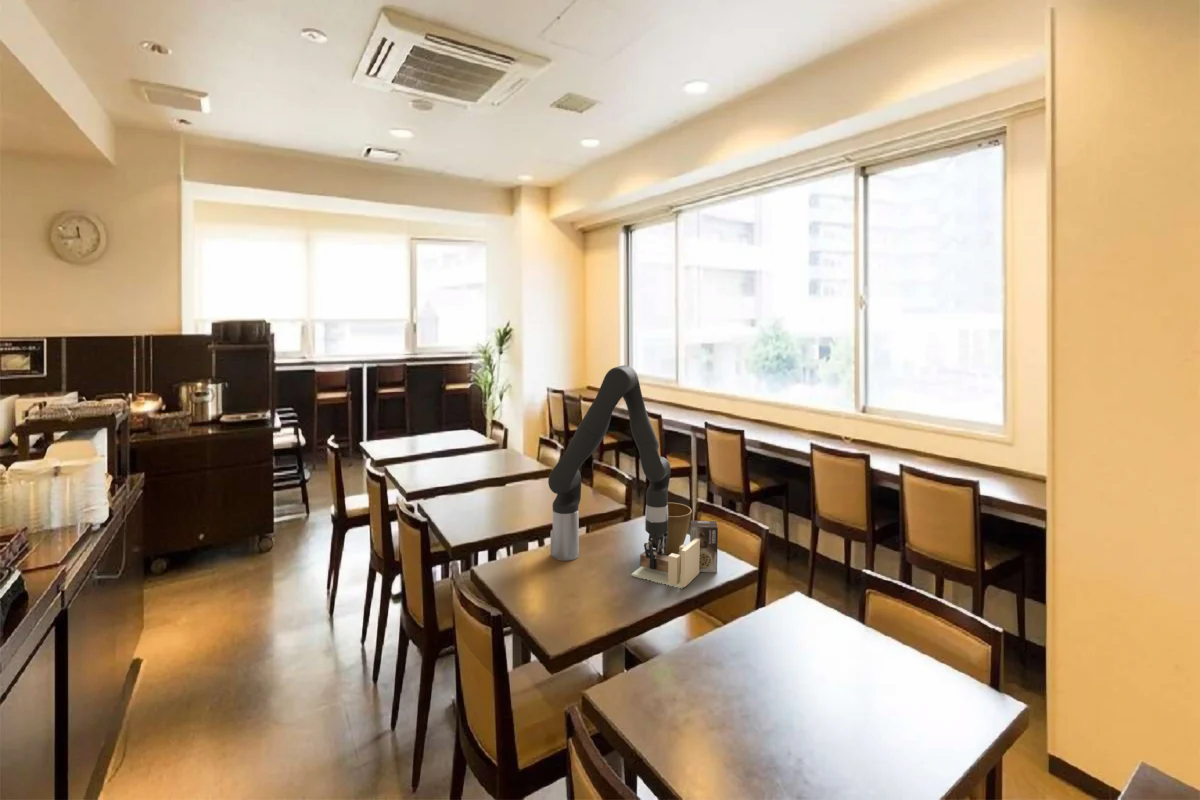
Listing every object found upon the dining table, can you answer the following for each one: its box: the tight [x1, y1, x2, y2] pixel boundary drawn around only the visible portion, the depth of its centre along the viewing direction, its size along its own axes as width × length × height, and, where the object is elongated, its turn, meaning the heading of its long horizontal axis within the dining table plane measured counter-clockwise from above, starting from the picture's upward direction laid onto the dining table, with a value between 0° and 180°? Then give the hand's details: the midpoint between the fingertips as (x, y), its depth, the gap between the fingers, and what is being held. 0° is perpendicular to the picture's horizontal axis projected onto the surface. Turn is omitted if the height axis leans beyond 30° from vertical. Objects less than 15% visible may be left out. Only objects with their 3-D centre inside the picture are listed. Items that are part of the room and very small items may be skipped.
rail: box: [639, 551, 681, 573], centre depth 199 cm, size 14×4×4 cm, turn 59°
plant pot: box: [663, 502, 693, 555], centre depth 218 cm, size 15×15×16 cm
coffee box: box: [689, 520, 719, 573], centre depth 203 cm, size 9×6×16 cm
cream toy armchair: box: [631, 538, 700, 590], centre depth 198 cm, size 19×12×13 cm, turn 59°
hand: (656, 566), depth 200 cm, fingers closed on rail, 4 cm apart
